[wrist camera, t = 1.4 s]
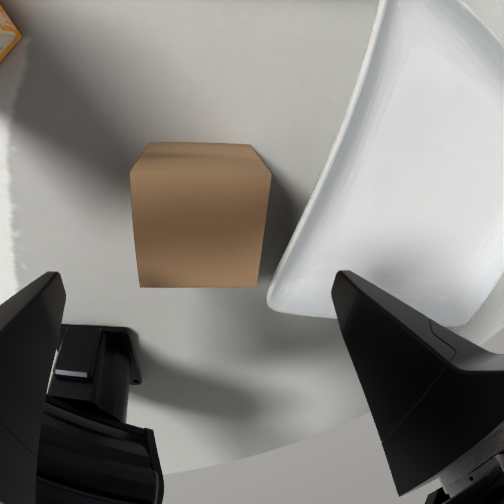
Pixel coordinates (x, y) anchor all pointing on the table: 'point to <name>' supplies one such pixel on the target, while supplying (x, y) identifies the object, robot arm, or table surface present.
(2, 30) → the supplement box
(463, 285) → the salad plate
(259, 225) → the walnut cube
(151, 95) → the table surface
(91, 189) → the table surface
